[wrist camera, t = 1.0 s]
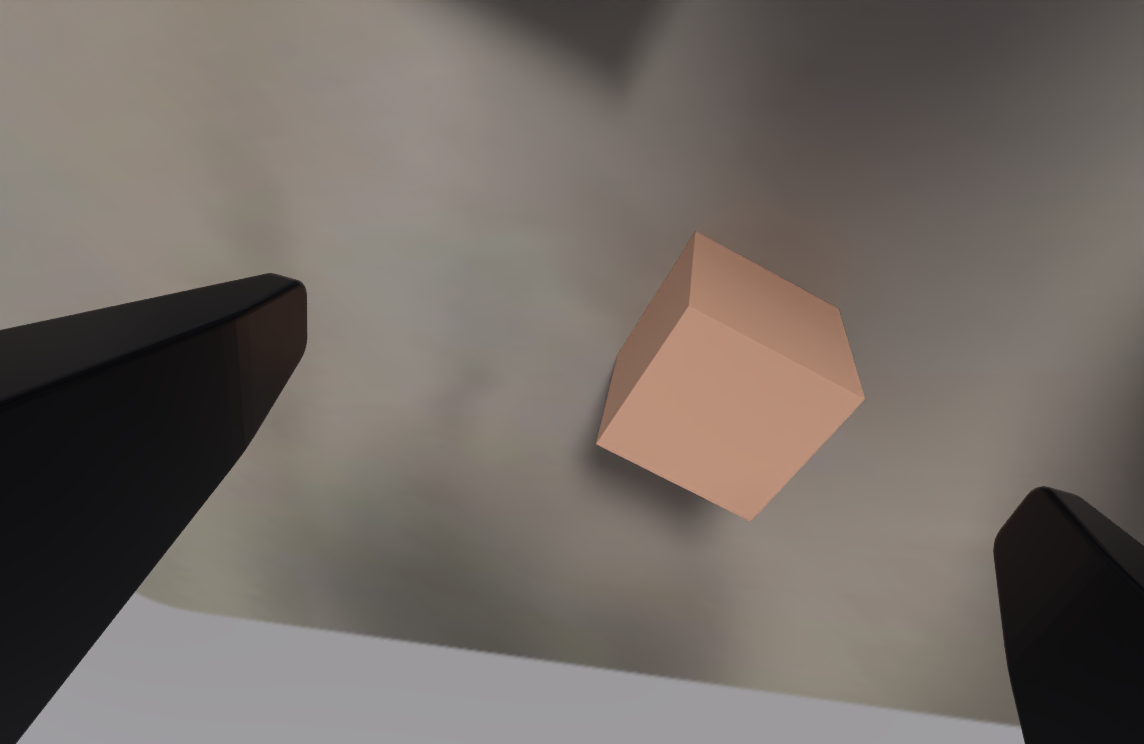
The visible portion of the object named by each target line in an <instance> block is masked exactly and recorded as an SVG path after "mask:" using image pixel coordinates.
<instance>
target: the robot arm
mask: <svg viewBox="0 0 1144 744" xmlns="http://www.w3.org/2000/svg"><path fill="white" fill-rule="evenodd" d="M306 344H307V292H306V288H305V286H304V285H303V283H302V282H301V281H299V280H296V279H292V278H289V277H285V276H281V275H278V274H273V273H267V274H262V275H258V276H253V277H248V278H244V279H239V280H234V281H229V282H225V283H220V284H215V285H211V286H206V287H201V288H196V289H192V290H187V291H182V292H178V293H173V294H168V295H163V296H159V297H154V298H149V299H144V300H140V301H135V302H130V303H126V304H121V305H116V306H111V307H107V308H102V309H97V310H93V311H88V312H83V313H78V314H74V315H69V316H64V317H60V318H55V319H50V320H45V321H41V322H36V323H31V324H27V325H22V326H17V327H12V328H8V329H3V330H0V744H16V743H17V742H18V740H19V739H20V738H21V736H22V735H23V734H24V732H26V730H27V729H28V728H29V726H30V725H31V724H32V723H33V721H34V720H35V719H36V717H37V716H38V715H39V714H40V712H41V711H42V710H43V709H44V707H45V706H46V705H47V703H48V702H49V701H50V700H51V698H52V697H53V696H54V694H55V693H56V692H57V691H58V689H59V688H60V687H61V685H62V684H63V683H64V682H65V680H66V679H67V678H68V677H69V675H70V674H71V673H72V672H73V670H74V669H75V668H76V666H77V665H78V664H79V662H80V661H81V660H82V659H83V657H84V656H85V655H86V654H87V652H88V651H89V650H90V649H91V647H92V646H93V645H94V643H95V642H96V641H97V639H98V638H99V637H100V636H101V634H102V633H103V632H104V631H105V629H106V628H107V627H108V626H109V624H110V623H111V622H112V620H113V619H114V618H115V617H116V615H117V614H118V613H119V611H120V610H121V609H122V608H123V606H124V605H125V604H126V603H127V601H128V600H129V599H130V597H131V596H132V595H133V594H134V592H135V591H136V590H137V589H138V587H139V586H140V585H141V583H142V582H143V581H144V580H145V578H146V577H147V576H148V574H149V573H150V572H151V571H152V569H153V568H154V567H155V566H156V564H157V563H158V562H159V560H160V559H161V558H162V557H163V555H164V554H165V553H166V551H167V550H168V549H169V548H170V546H171V545H172V544H173V543H174V541H175V540H176V539H177V537H178V536H179V535H180V534H181V532H182V531H183V530H184V529H185V527H186V526H187V525H188V523H189V522H190V521H191V520H192V518H193V517H194V516H195V514H196V513H197V512H198V511H199V509H200V508H201V507H202V506H203V504H204V503H205V502H206V500H207V499H208V498H209V497H210V495H211V494H212V493H213V491H214V490H215V489H216V488H217V486H218V485H219V484H220V483H221V481H222V480H223V479H224V477H225V476H226V475H227V474H228V472H229V471H230V470H231V468H232V467H233V466H234V465H235V463H236V462H237V461H238V459H239V458H240V457H241V455H242V454H243V452H244V451H245V450H246V448H247V447H248V445H249V444H250V442H251V441H252V439H253V438H254V436H255V434H256V433H257V431H258V429H259V428H260V426H261V425H262V423H263V421H264V420H265V418H266V416H267V415H268V413H269V411H270V410H271V408H272V406H273V405H274V403H275V401H276V400H277V398H278V396H279V395H280V393H281V391H282V390H283V388H284V387H285V385H286V383H287V382H288V380H289V378H290V377H291V375H292V373H293V372H294V370H295V368H296V367H297V365H298V363H299V362H300V360H301V358H302V356H303V354H304V352H305V348H306ZM993 554H994V562H995V571H996V579H997V588H998V596H999V604H1000V613H1001V621H1002V630H1003V638H1004V646H1005V653H1006V660H1007V666H1008V672H1009V677H1010V682H1011V686H1012V691H1013V695H1014V700H1015V704H1016V708H1017V712H1018V716H1019V721H1020V725H1021V729H1022V733H1023V738H1024V742H1025V744H1144V546H1143V545H1142V544H1141V543H1139V542H1138V541H1137V540H1135V539H1134V538H1133V537H1132V536H1130V535H1129V534H1128V533H1126V532H1125V531H1124V530H1122V529H1121V528H1120V527H1119V526H1117V525H1116V524H1115V523H1113V522H1112V521H1111V520H1109V519H1108V518H1107V517H1105V516H1104V515H1103V514H1102V513H1100V512H1099V511H1098V510H1096V509H1095V508H1094V507H1092V506H1091V505H1090V504H1089V503H1087V502H1086V501H1085V500H1083V499H1082V498H1080V497H1079V496H1077V495H1074V494H1072V493H1068V492H1064V491H1061V490H1057V489H1053V488H1050V487H1045V486H1042V487H1037V488H1035V489H1033V490H1032V491H1031V492H1030V493H1029V494H1028V495H1027V496H1026V497H1025V498H1024V500H1023V501H1022V502H1021V504H1020V505H1019V506H1018V507H1017V509H1016V510H1015V511H1014V512H1013V514H1012V515H1011V516H1010V518H1009V519H1008V520H1007V521H1006V523H1005V524H1004V525H1003V527H1002V528H1001V529H1000V531H999V532H998V534H997V536H996V538H995V542H994V549H993Z"/></svg>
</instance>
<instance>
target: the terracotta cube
mask: <svg viewBox="0 0 1144 744" xmlns="http://www.w3.org/2000/svg"><path fill="white" fill-rule="evenodd" d="M864 400H865V397H864V394H863V391H862V387H861V384H860V380H859V377H858V374H857V370H856V367H855V363H854V360H853V356H852V353H851V350H850V346H849V343H848V339H847V336H846V333H845V329H844V326H843V322H842V319H841V315H840V312H839V309H838V308H836V307H834V306H833V305H831V304H829V303H827V302H825V301H823V300H821V299H820V298H818V297H816V296H814V295H812V294H810V293H809V292H807V291H805V290H803V289H801V288H799V287H798V286H796V285H794V284H792V283H790V282H788V281H786V280H785V279H783V278H781V277H779V276H777V275H775V274H774V273H772V272H770V271H768V270H766V269H764V268H762V267H761V266H759V265H757V264H755V263H753V262H751V261H750V260H748V259H746V258H744V257H742V256H740V255H739V254H737V253H735V252H733V251H731V250H729V249H727V248H726V247H724V246H722V245H720V244H718V243H716V242H715V241H713V240H711V239H709V238H707V237H705V236H703V235H702V234H700V233H698V232H696V231H695V233H694V235H693V236H692V238H691V239H690V241H689V243H688V244H687V246H686V247H685V249H684V250H683V252H682V254H681V255H680V257H679V258H678V260H677V261H676V263H675V265H674V266H673V268H672V269H671V271H670V273H669V274H668V276H667V277H666V279H665V280H664V282H663V284H662V285H661V287H660V288H659V290H658V292H657V293H656V295H655V296H654V298H653V299H652V301H651V303H650V304H649V306H648V307H647V309H646V311H645V312H644V314H643V315H642V317H641V318H640V320H639V322H638V323H637V325H636V326H635V328H634V330H633V331H632V333H631V334H630V336H629V337H628V339H627V341H626V342H625V344H624V345H623V347H622V348H621V350H620V352H619V353H618V355H617V360H616V364H615V368H614V372H613V376H612V380H611V384H610V388H609V393H608V397H607V401H606V405H605V409H604V413H603V417H602V421H601V425H600V430H599V434H598V438H597V442H596V444H597V445H599V446H601V447H603V448H605V449H607V450H609V451H611V452H613V453H615V454H617V455H619V456H621V457H623V458H625V459H627V460H629V461H631V462H633V463H635V464H637V465H639V466H641V467H643V468H645V469H647V470H649V471H651V472H653V473H655V474H657V475H659V476H661V477H663V478H665V479H667V480H669V481H671V482H673V483H675V484H677V485H679V486H681V487H683V488H685V489H687V490H689V491H691V492H693V493H695V494H697V495H699V496H701V497H703V498H705V499H707V500H709V501H711V502H713V503H715V504H717V505H719V506H721V507H723V508H725V509H727V510H729V511H731V512H733V513H735V514H737V515H739V516H741V517H743V518H745V519H747V520H749V521H752V520H753V519H754V517H755V516H756V515H757V514H758V513H759V512H760V511H761V510H762V509H763V508H764V507H765V506H766V505H767V504H768V502H769V501H770V500H771V499H772V498H773V497H774V496H775V495H776V494H777V493H778V492H779V491H780V490H781V489H782V488H783V486H784V485H785V484H786V483H787V482H788V481H789V480H790V479H791V478H792V477H793V476H794V475H795V474H796V473H797V471H798V470H799V469H800V468H801V467H802V466H803V465H804V464H805V463H806V462H807V461H808V460H809V459H810V458H811V456H812V455H813V454H814V453H815V452H816V451H817V450H818V449H819V448H820V447H821V446H822V445H823V444H824V443H825V441H826V440H827V439H828V438H829V437H830V436H831V435H832V434H833V433H834V432H835V431H836V430H837V429H838V428H839V427H840V425H841V424H842V423H843V422H844V421H845V420H846V419H847V418H848V417H849V416H850V415H851V414H852V413H853V412H854V410H855V409H856V408H857V407H858V406H859V405H860V404H861V403H862V402H863V401H864Z"/></svg>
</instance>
